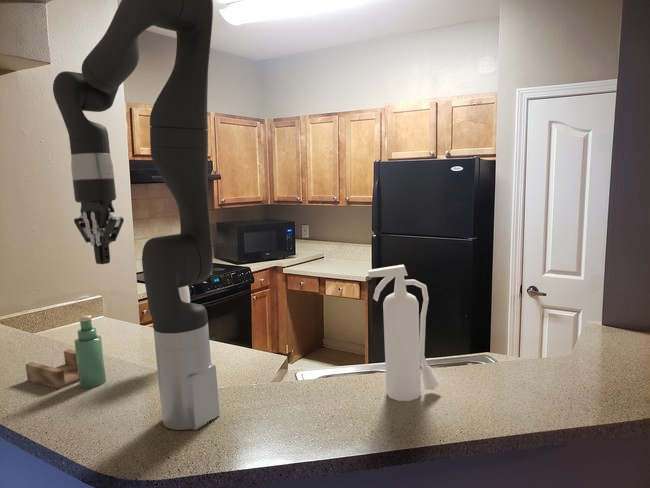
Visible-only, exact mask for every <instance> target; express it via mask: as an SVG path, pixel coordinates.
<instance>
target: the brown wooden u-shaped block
mask: <svg viewBox="0 0 650 488" xmlns="http://www.w3.org/2000/svg"><path fill="white" fill-rule="evenodd" d="M63 356H64V357H63V358H64V364H62V365H60V366H56V367H52V366H49V365H44V364H41V363H36V362H33V361H32V362H28V363H25V372H26V378H27V381H28V380H29V381H28V382H31V381H32V382H31V383H35V382H36V383H35V384H38V383H40V384H39V385H42V384H44V385H43V386H46V385H48V386H47V387H49V386H51V387H50V388H53V387H55V388H54V389H56V388H58V389H57V390H61V389H64V388H66V387H69V386H70V385H74V384H76V383H79V375H78V367H77V359H76V350H75V349H74V350H73V349H67V350H64V351H63ZM68 385H69V386H68ZM65 386H66V387H65ZM63 387H64V388H63ZM60 388H61V389H60Z"/></svg>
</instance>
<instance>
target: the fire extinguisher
mask: <svg viewBox="0 0 650 488" xmlns="http://www.w3.org/2000/svg"><path fill="white" fill-rule="evenodd" d="M405 276H406V277H408V276H409V275H408V272H407V269H406V266H405V265H404V264H398V265H392V266H386V267H379V268H373V269H368V278H380V277H381V278H383V279H382V280H380V282H379V283H378V285H376V287H375V289H374V293H373V297H372V299H373V300H375V301H376V302H378V301H379V297H380V294H381V292H382V291H383V289H384V288H385V287H386V285H387V284H389V283H390V282H391V281H392V280H393V279H395V280H394V286H393V287H394V289H393V292H392V293H390V294H388V295H387V296H385V298H384V300H383V303H382V307H383V308H382V309H383V312H382V313H383V335H384V337H383V338H384V339H383V340H384V359H385V360H384V363H385V388H386V395H387V396H388V398H389V399H392V400H395V401H398V402H411V401H414V400H418V399H419V398H420V396H421V395H422V382H423V386H424V389H425V390H431V391H432V390H435V389H436V388H437V387H439V386H440V385H441V384H442V383H441V382H440V380H439V378H438V376H437V375H436V373H435V371H434V370H433V368H432V366H430V365H428V364H427V359H426V357H425V347H426V344H425V343H426V324H427V323H426V322H427V319H426V318H427V311H428V305H429V300H430V299H429V293H428V287H427V285H426V284H425V283H422V282H420V281H418V280H416V279H405ZM411 285H412V286H416V287H418V288H420V289H421V293H422V298H423V301H422V308H421V312H420V310H419V309H420V308H419V304H420V303H419V301H418V299H417V297H416V296H415V294H414V295H413V294H412V293H409V292H408V291H407V286H411ZM419 312H420V313H419ZM421 377H422V379H421Z"/></svg>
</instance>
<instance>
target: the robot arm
mask: <svg viewBox="0 0 650 488" xmlns="http://www.w3.org/2000/svg"><path fill="white" fill-rule="evenodd" d="M213 17H214V1H213V0H120V2H119V4H118V7H117V9H116V10H115V13H114V16H113V17H112V19H111V22H110V23H109V26H108V28H107V30H106V32H105V33H104V35H103V36H102V38H101V39H100V40H99V41H98V42H97V44H96V45H95V46H94V47H93V48H92V49H91V51H90V52H89V53H88V54H87V56H86V57H85V58H84V60H83V62H82V63H81V64H82V65H81V72H75V71H65V70H64V71H61V72H59V73H58V74H57V75H56V76H55V78H54V80H53V84H52V92H53V93H52V94H53V96H54V100H55V103H56V105H57V108H58V110H59V111H60V114H61V117H62V120H63V122H64V125H65V128H66V131H67V134H68V139H69V148H70V149H69V150H70V154H71V155H70V158H71V161H70V169H71V178H72V188H73V195H74V200H75V202H76V203H78V204H79V203H80V204H81V205H80V216H79V217H75V218H74V219H73V222H74V225H75V226H76V228H77V229H78V231H79V233H80V235H81V236H82V238H83V239H84V241H85V243H90V244H91V246H92V247H93V251H94V260H95V264H97V265H106V264H110V262H111V253H110V244H111V243H113V242H116V241H117V238H118V236H119V235H120V231H121V229H122V226H123V224H124V217H123V216H118V215H117V214H116V213H115V208H114V205H113V202H114V201H115V200H116V199H117V193H116V192H117V191H116V183H115V173H114V166H113V160H112V158H111V149H110V139H109V134H108V133H109V132H108V129H107V128H106V126H104V125H103V124H100V123H98V122H94V121H91V120H90V119H88V118H87V116H86V115H85V113H84V112H91V113H92V112H93V113H100V112H101V113H102V112H105V111H107V110H109V109H111V108H112V107H113V104H114V101H115V98H116V96H117V94H118V91H119V89H120V88H119V87H120V86H121V85H122V84H123V83H124V82H125V81H126V80H127V79H128V78H129V77H130V76H131V75H132V74H133V73H134V71H135V69H136V67H137V66H138V65H139V60H140V45H139V36H140V35H141V34H142V33H144V31H146V30H147V29H149V28H151V27H153V26H154V27H157V28H160V29H165V30H168V31H172V32H175V33H176V52H175V60H174V65H173V69H172V71H171V73H170V75H169V77H168V79H167V80H166V82H165V84H164V85H163V88H162V89H161V91H160V93H158V96H157V98H156V100H155V102H154V103H153V106H152V109H151V110H150V114H149V115H150V116H149V139H150V140H149V145H150V148H149V149H150V156H151V160H152V162H153V164H154V165H153V166H155V169H156V170H157V172H158V174H159V175H160V178H161V179H162V180H163V182H164V183H165V185H166V186H167V188H168V189H169V192H170V193H171V195H172V197H173V198H174V200H175V202H176V206H177V208H178V214H179V220H180V221H179V222H180V223H179V224H180V230H179V231H180V233H177V234H170V235H161V236H156V237H151V238H150V239H147V241H146V242H145V244H144V245H143V248H142V253H141V265H142V274H143V279H144V285H145V293H146V299H147V305H148V306H147V307H148V310H149V314H150V317H151V320H152V326H153V328H152V329H153V337H154V347H155V358H156V368H157V377H158V378H157V380H158V388H159V397H160V407H161V416H162V418H161V419H162V425H163V426H164V427H166V429H170V430H175V431H176V430H177V431H183V430H185V431H186V430H194V431H197V430H199V429H200V428H202V427H203V426H205V425H206V424H208V423H209V421H210V420H211V421H213V420H214V419H216V418H218V417H219V416H220V415H221V414H220V402H219V401H220V400H219V391H218V390H219V389H218V377H217V366H216V365H215V364H212V358H211V345H210V335H209V334H210V332H209V330H210V329H209V319H208V310H207V309H206V307H205V306H204V305H202V304H199V303H193V302H190V303H187V302H183V301H182V300H181V298H180V294H179V289H178V288H180V287H185V286H188V287H189V286H192V285H197V284H200V283H201V284H202V283H203V282H205V281H206V280H208V279H209V277H210V276H211V273H212V269H213V261H214V258H213V256H214V253H213V252H214V251H213V241H212V231H211V230H212V229H211V220H210V209H209V190H208V188H209V186H208V184H209V183H208V164H209V163H208V161H209V160H208V159H209V158H208V157H209V156H208V155H209V130H208V129H209V123H208V122H209V121H208V94H209V93H208V87H209V86H208V84H209V83H208V82H209V67H210V66H209V65H210V64H209V63H210V53H211V44H212V43H211V42H212V32H213V31H212V29H213V19H214V18H213ZM212 419H213V420H212ZM211 421H210V422H211ZM207 422H208V423H207Z"/></svg>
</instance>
